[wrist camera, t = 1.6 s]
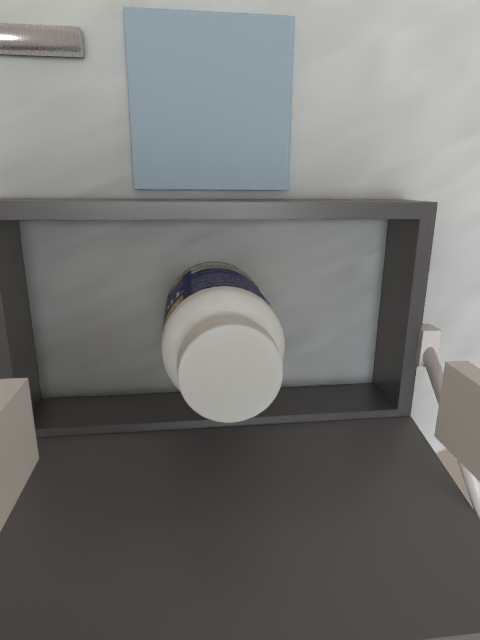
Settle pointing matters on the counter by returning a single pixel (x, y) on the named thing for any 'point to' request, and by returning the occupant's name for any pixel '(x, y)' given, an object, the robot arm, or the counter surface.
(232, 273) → the pill bottle
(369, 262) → the counter surface
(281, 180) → the mat
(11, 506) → the robot arm
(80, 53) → the rod
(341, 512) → the case
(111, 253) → the counter surface
